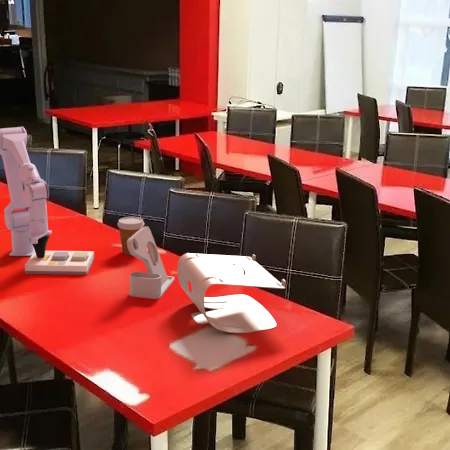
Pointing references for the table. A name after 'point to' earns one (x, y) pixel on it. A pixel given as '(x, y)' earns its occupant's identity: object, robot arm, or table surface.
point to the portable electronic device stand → (227, 305)
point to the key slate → (60, 256)
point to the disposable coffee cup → (128, 230)
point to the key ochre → (41, 258)
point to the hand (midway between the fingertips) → (40, 257)
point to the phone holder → (147, 267)
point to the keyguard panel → (59, 264)
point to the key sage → (80, 256)
